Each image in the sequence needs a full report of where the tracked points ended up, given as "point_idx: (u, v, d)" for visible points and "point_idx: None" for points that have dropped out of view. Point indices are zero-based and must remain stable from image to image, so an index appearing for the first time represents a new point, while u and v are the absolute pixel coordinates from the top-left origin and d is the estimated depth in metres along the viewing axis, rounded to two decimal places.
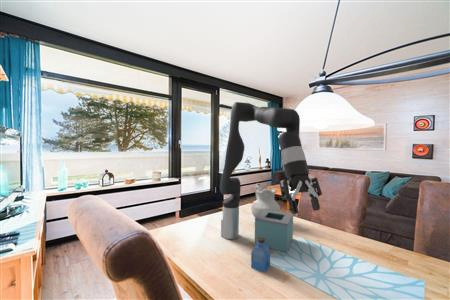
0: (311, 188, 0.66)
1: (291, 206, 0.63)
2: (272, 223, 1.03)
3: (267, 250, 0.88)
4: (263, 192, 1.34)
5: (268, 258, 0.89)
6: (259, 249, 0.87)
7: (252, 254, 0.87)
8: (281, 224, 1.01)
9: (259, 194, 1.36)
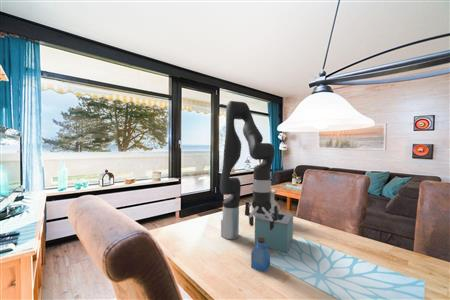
0: (266, 213, 0.85)
1: None
2: None
3: (267, 250, 0.88)
4: None
5: (268, 258, 0.89)
6: (259, 249, 0.87)
7: (252, 254, 0.87)
8: (281, 224, 1.01)
9: None
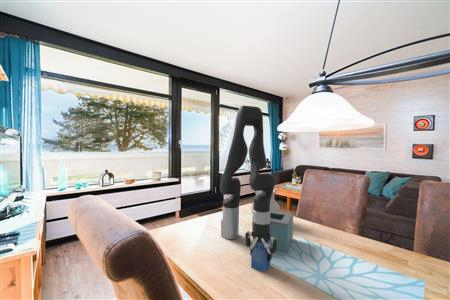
0: (265, 245, 0.86)
1: None
2: (272, 223, 1.03)
3: None
4: None
5: None
6: (259, 249, 0.87)
7: (252, 254, 0.87)
8: (281, 224, 1.01)
9: (259, 194, 1.36)
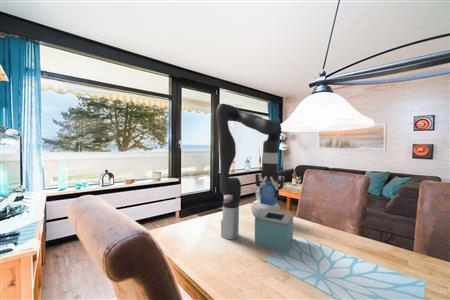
0: (273, 182, 0.97)
1: None
2: (272, 223, 1.03)
3: None
4: None
5: None
6: (268, 186, 0.98)
7: (261, 191, 0.98)
8: (281, 224, 1.01)
9: (259, 194, 1.36)
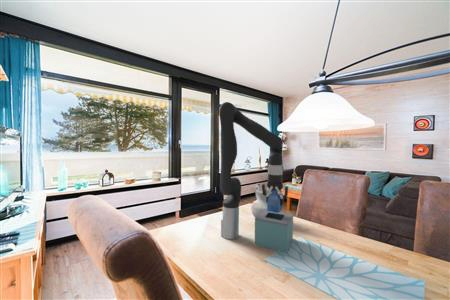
0: (278, 192, 1.08)
1: None
2: (272, 223, 1.03)
3: (280, 197, 1.10)
4: None
5: None
6: (274, 195, 1.08)
7: (268, 200, 1.09)
8: (281, 224, 1.01)
9: (259, 194, 1.36)
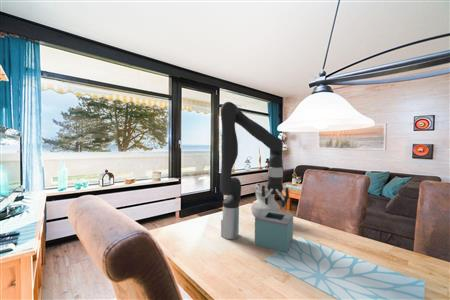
0: (279, 194, 1.08)
1: None
2: (272, 223, 1.03)
3: None
4: None
5: None
6: None
7: None
8: (281, 224, 1.01)
9: (259, 194, 1.36)
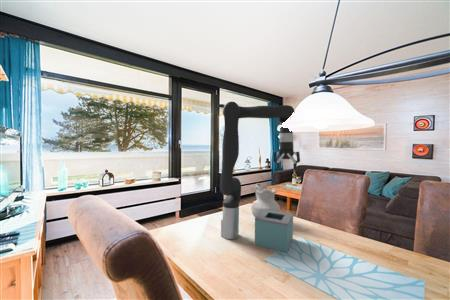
0: (291, 158, 1.15)
1: None
2: (272, 223, 1.03)
3: None
4: (263, 192, 1.33)
5: None
6: None
7: None
8: (281, 224, 1.01)
9: (259, 194, 1.36)
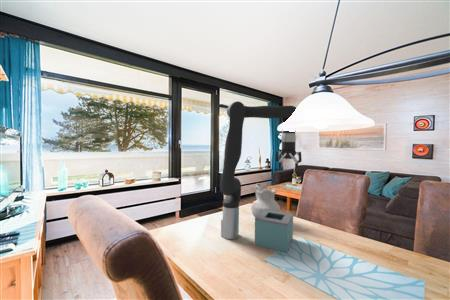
0: (292, 157, 1.17)
1: None
2: (272, 223, 1.03)
3: None
4: (263, 192, 1.33)
5: None
6: None
7: None
8: (281, 224, 1.01)
9: (259, 194, 1.36)
